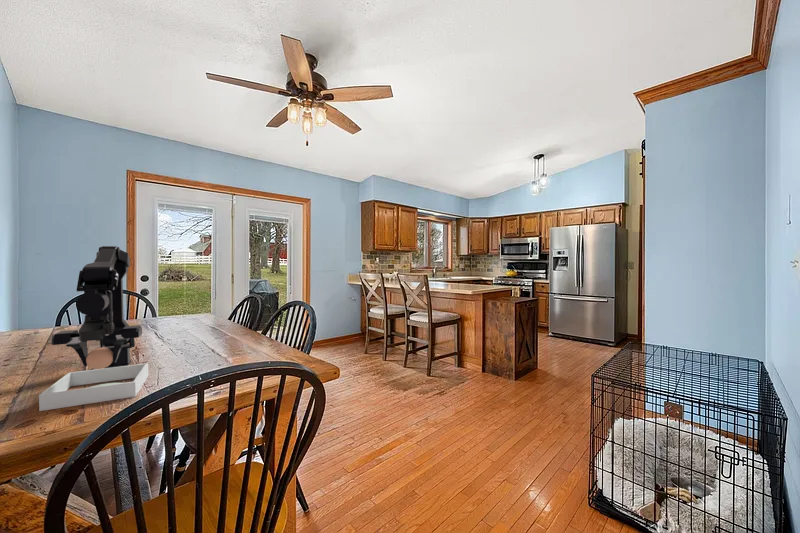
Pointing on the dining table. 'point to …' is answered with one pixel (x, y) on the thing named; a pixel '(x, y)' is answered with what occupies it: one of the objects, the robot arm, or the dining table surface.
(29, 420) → the dining table surface
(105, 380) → the walled pen
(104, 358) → the ball
